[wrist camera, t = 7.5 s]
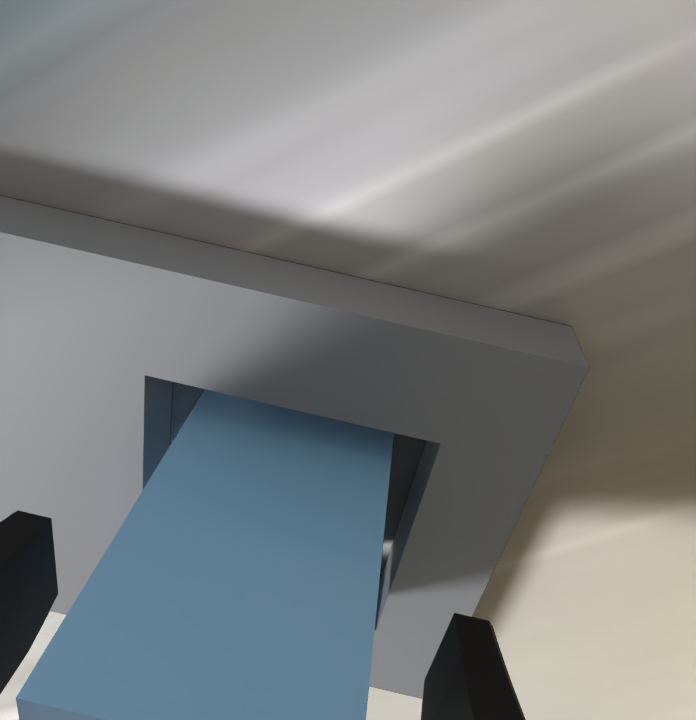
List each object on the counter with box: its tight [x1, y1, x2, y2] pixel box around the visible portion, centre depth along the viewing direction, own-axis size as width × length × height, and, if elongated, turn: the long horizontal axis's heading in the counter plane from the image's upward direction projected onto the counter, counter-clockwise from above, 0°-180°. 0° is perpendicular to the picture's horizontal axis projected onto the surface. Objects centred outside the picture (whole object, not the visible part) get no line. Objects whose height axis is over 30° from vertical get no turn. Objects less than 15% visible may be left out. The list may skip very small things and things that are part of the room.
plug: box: [16, 389, 394, 720], centre depth 11 cm, size 4×4×7 cm
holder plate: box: [0, 196, 589, 699], centre depth 13 cm, size 10×19×2 cm, turn 79°
